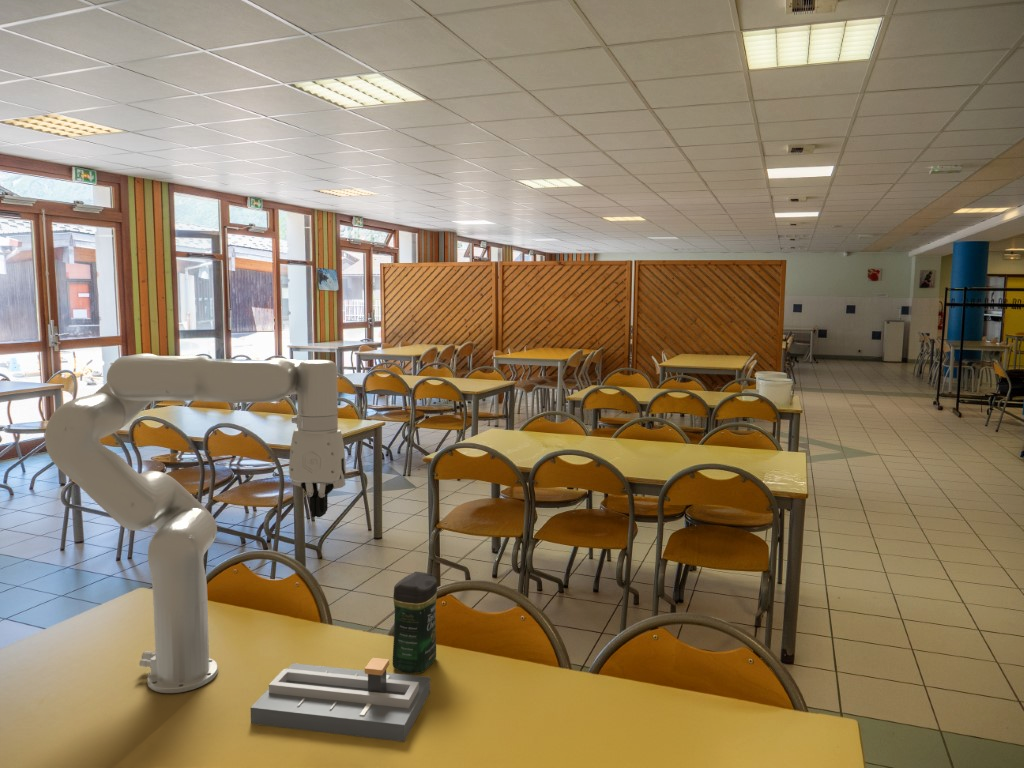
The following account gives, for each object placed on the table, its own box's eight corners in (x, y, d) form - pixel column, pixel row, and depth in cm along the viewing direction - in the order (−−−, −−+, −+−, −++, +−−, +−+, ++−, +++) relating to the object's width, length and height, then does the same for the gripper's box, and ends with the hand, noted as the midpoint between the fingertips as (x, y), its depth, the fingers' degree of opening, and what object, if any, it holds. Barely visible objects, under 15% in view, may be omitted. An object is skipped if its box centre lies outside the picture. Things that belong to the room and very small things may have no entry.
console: (250, 723, 125) (250, 698, 125) (292, 677, 141) (292, 655, 140) (404, 741, 121) (404, 716, 120) (430, 692, 136) (430, 669, 136)
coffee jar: (423, 678, 141) (423, 588, 140) (387, 671, 144) (387, 583, 142) (442, 656, 151) (442, 571, 149) (407, 650, 153) (408, 566, 151)
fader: (364, 700, 128) (364, 668, 127) (372, 688, 132) (372, 657, 131) (381, 702, 127) (381, 670, 127) (389, 690, 131) (389, 659, 131)
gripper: (272, 424, 136) (274, 518, 138) (346, 428, 134) (347, 523, 136) (290, 419, 144) (292, 507, 146) (361, 422, 141) (361, 512, 143)
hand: (318, 515), depth 141 cm, fingers closed
